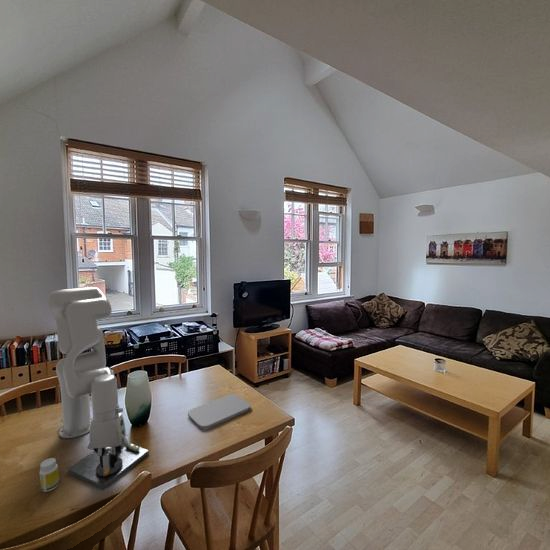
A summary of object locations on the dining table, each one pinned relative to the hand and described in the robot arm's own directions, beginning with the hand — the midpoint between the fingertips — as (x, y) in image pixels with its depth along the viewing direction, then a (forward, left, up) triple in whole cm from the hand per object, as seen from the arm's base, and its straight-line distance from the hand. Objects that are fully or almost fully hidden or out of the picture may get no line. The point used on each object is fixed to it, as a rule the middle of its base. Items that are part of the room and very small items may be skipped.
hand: (109, 463), depth 103 cm
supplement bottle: (-12, -12, -3) cm, 17 cm away
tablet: (+13, +46, -4) cm, 48 cm away
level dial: (0, 0, -2) cm, 2 cm away
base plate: (-4, +3, -3) cm, 6 cm away
